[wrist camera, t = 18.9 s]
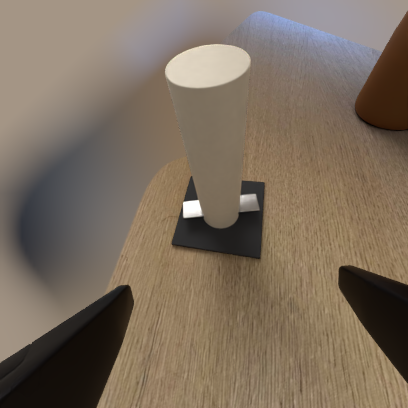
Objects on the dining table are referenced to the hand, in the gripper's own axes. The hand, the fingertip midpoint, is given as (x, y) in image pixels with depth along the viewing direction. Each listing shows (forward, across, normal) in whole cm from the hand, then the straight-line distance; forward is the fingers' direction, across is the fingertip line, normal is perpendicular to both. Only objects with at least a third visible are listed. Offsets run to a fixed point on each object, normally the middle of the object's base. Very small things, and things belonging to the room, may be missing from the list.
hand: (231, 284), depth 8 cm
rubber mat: (+11, 0, 0) cm, 11 cm away
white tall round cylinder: (+11, 0, 0) cm, 11 cm away
